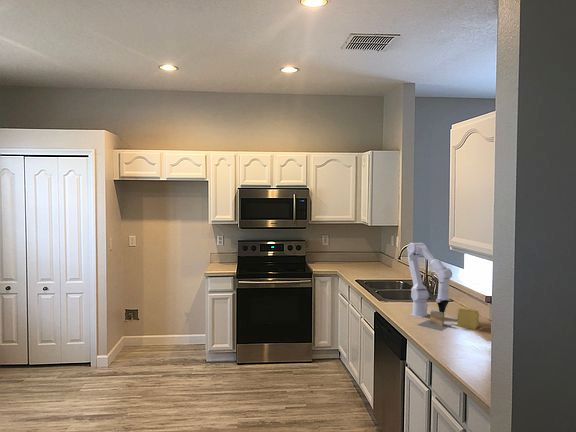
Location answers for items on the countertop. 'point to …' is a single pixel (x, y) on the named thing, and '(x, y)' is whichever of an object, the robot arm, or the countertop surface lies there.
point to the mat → (433, 326)
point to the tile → (437, 318)
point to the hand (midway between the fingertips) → (441, 313)
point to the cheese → (468, 318)
